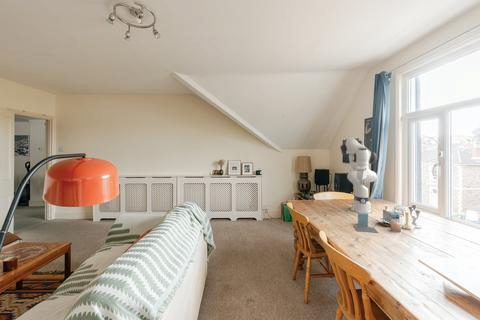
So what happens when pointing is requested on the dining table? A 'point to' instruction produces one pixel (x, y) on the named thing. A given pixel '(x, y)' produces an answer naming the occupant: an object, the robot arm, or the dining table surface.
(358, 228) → the mat
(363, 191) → the robot arm
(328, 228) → the dining table surface
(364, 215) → the block
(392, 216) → the light bulb box
